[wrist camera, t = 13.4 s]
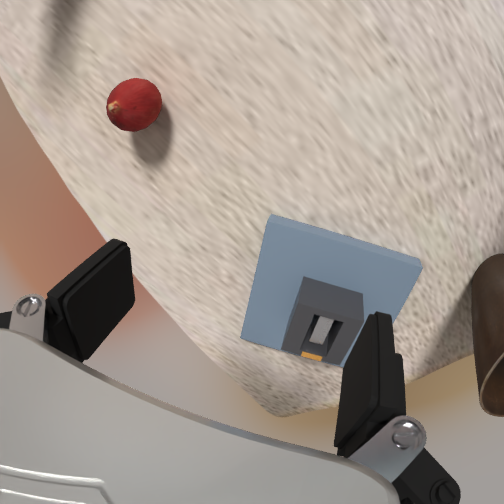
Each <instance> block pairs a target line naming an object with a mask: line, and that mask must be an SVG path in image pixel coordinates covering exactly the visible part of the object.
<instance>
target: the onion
mask: <svg viewBox="0 0 504 504" xmlns="http://www.w3.org/2000/svg"><path fill="white" fill-rule="evenodd" d="M161 105H162V99H161V94H160V92H159V90H158V89H157V87H156V86H155V85H154V84H153V83H151V82H150V81H148V80H145V79H139V78H133V79H129V80H126V81H123V82H121V83H120V84H118V85H117V86H116V87H115V88H114V89H113V90H112V91H111V93H110V95H109V97H108V99H107V106H106V109H107V115H108V117H109V119H110V121H111V123H113V124H114V125H115V126H117V127H118V128H119V129H121V130H124V131H132V132H135V131H139V130H141V129H144V128H147V127H148V126H149V125H150V124H151V123H152V122H154V121H155V120H156V118H157V117H158V115H159V113H160V110H161Z"/></svg>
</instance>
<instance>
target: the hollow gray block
mask: <svg viewBox="0 0 504 504" xmlns="http://www.w3.org/2000/svg"><path fill="white" fill-rule="evenodd" d="M314 314H316V315H319V316H323V317H326V318H330V319H333V320H334V321H333V323H332V326H331V328H330V330H329V332H328V334H327V336H326V338H325V340H324V342H323V345H321V344H317V343H313V342H310V341H309V339H310V333H311V326H312V324H311V321H312V319H313V316H314ZM363 323H364V306H363V293H359V292H356V291H352V290H349V289H346V288H342V287H339V286H335V285H332V284H328V283H325V282H322V281H318V280H315V279H311V278H308V277H304V276H303V279H302V282H301V285H300V288H299V291H298V294H297V297H296V300H295V303H294V306H293V309H292V312H291V314H290V317H289V320H288V323H287V327H286V331H285V335H284V339H283V343H282V347H281V350H284V351H287V352H291V353H294V354H298V355H301V356H303V357H306V358H310V359H314V360H317V361H324V362H328V363H332V364H336V365H339V366H340V364H341V362H342V361H343V359H344V357H345V356H346V354H347V352H348V350H349V349H350V347H351V345H352V343H353V341H354V340H355V338H356V336H357V334H358V332H359V330H360V329H361V327H362V325H363Z"/></svg>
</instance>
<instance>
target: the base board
mask: <svg viewBox="0 0 504 504" xmlns="http://www.w3.org/2000/svg"><path fill="white" fill-rule="evenodd" d="M422 269H423V267H422V265H421V262H420V260H419V259H418V258H415V257H411V256H408V255H405V254H402V253H399V252H396V251H393V250H390V249H387V248H384V247H380V246H377V245H374V244H371V243H368V242H365V241H361V240H358V239H355V238H352V237H348V236H345V235H342V234H338V233H335V232H332V231H328V230H325V229H322V228H318V227H315V226H311V225H308V224H304V223H301V222H298V221H294V220H291V219H287V218H284V217H280V216H276V215H273V214H271V215H270V217H269V219H268V221H267V224H266V229H265V233H264V238H263V242H262V246H261V251H260V255H259V259H258V264H257V268H256V272H255V277H254V281H253V285H252V290H251V294H250V298H249V303H248V307H247V311H246V315H245V320H244V324H243V328H242V332H241V337H240V338H241V339H244V340H248V341H251V342H254V343H257V344H260V345H264V346H267V347H270V348H274V349H277V350H281V347H282V343H283V339H284V335H285V331H286V327H287V323H288V320H289V317H290V314H291V312H292V309H293V306H294V303H295V300H296V297H297V294H298V291H299V288H300V285H301V282H302V279H303V276H304V277H308V278H311V279H315V280H318V281H322V282H325V283H328V284H332V285H335V286H339V287H342V288H346V289H349V290H352V291H356V292H359V293H363V306H364V323H363V325H362V327H361V329H360V330H359V332H358V334H357V336H356V338H355V340H354V341H353V343H352V345H351V347H350V349H349V350H348V352H347V354H346V356H345V357H344V359H343V361H342V362H341V364H340V367H344V364H345V362H346V360H347V358H348V356H349V354H350V352H351V350H352V348H353V346H354V344H355V342H356V340H357V338H358V336H359V334H360V332H361V330H362V328H363V326H364V324H365V322H366V320H367V317H368V316H369V314H373V315H374V313H375V312H376V311H378V312H382V313H386V314H390V315H391V317H392V324H393V323H394V321H395V319H396V317H397V316H398V314H399V312H400V310H401V308H402V307H403V305H404V303H405V301H406V299H407V298H408V296H409V294H410V292H411V290H412V288H413V286H414V284H415V282H416V280H417V279H418V277H419V275H420V273H421V271H422ZM314 315H315V314H314ZM313 317H314V316H313ZM312 320H313V319H312ZM311 324H312V321H311ZM281 351H284V350H281ZM284 352H287V351H284ZM288 353H291V352H288ZM291 354H294V353H291ZM295 355H298V354H295ZM298 356H301V355H298ZM302 357H303V356H302ZM305 358H306V357H305ZM309 359H310V358H309ZM313 360H314V359H313ZM320 362H324V361H320ZM324 363H328V362H324ZM328 364H332V363H328ZM332 365H336V364H332ZM336 366H339V365H336Z"/></svg>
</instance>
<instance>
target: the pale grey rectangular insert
mask: <svg viewBox="0 0 504 504" xmlns="http://www.w3.org/2000/svg"><path fill="white" fill-rule="evenodd" d="M333 321H334V320H333V319H330V318H326V317H323V316H319V315H316V314H315V315H314V317H313V320H312V326H311V333H310V339H309V341H310V342H313V343H317V344H321V345H323V342H324V340H325V338H326V336H327V334H328V332H329V330H330V328H331V326H332V323H333Z"/></svg>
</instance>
